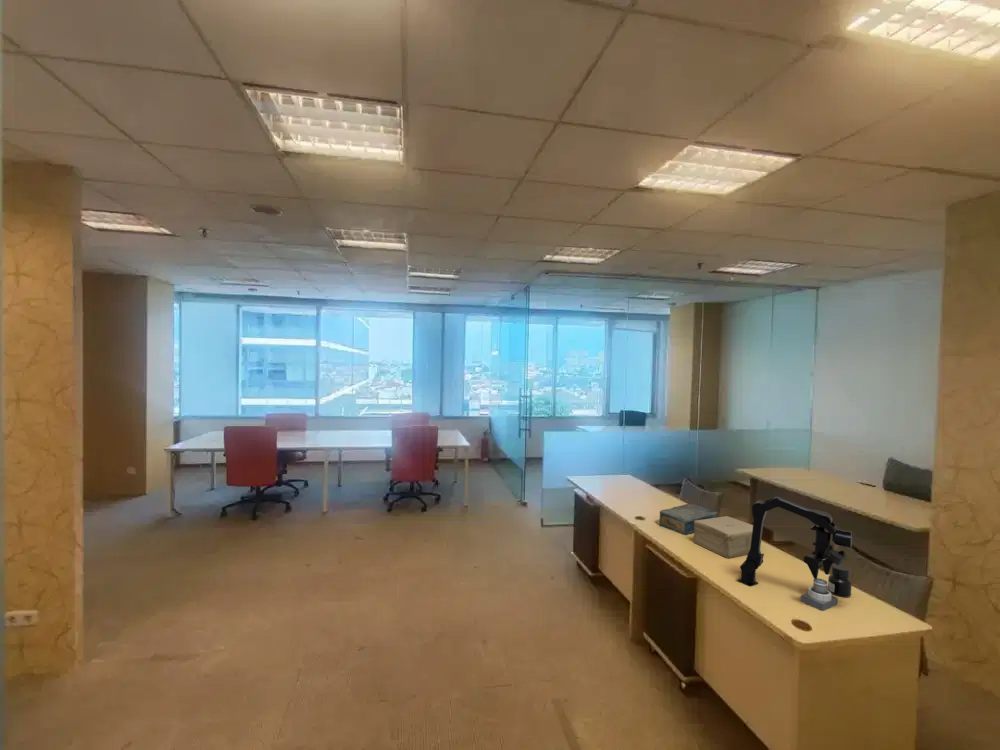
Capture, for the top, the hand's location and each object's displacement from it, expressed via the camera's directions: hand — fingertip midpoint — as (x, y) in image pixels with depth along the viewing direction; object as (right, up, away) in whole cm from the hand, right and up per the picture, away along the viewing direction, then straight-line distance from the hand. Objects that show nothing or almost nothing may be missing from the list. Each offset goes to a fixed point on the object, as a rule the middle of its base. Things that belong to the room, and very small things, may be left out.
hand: (821, 576), depth 217 cm
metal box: (-22, -8, +97) cm, 99 cm away
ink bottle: (+15, -12, +11) cm, 23 cm away
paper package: (-13, -10, +63) cm, 65 cm away
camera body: (0, -12, +1) cm, 12 cm away
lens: (0, -9, +1) cm, 9 cm away
